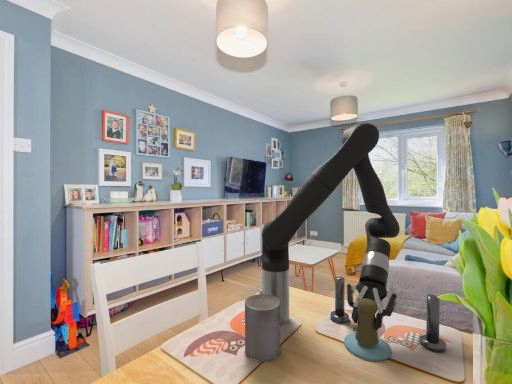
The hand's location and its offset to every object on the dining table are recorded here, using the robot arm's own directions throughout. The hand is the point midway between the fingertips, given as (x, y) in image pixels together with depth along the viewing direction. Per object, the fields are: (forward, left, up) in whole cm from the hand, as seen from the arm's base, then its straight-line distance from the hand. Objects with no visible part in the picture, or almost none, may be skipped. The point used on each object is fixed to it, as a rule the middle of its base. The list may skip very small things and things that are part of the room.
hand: (365, 325), depth 72 cm
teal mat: (0, +2, -7) cm, 7 cm away
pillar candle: (-23, -16, -7) cm, 29 cm away
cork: (0, +2, -5) cm, 5 cm away
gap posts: (+2, +13, -7) cm, 15 cm away
